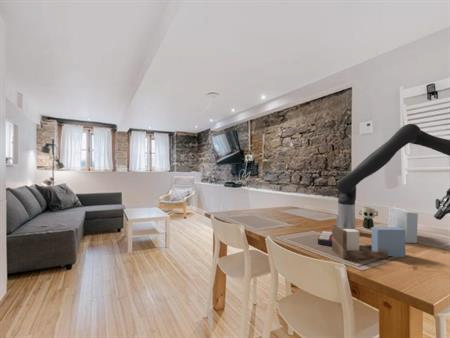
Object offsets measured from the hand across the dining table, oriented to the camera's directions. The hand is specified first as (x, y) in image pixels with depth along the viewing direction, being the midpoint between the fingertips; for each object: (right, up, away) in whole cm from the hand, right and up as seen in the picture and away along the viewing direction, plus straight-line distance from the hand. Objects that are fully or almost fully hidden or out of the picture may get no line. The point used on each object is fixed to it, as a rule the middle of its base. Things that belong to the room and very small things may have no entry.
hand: (436, 218), depth 106 cm
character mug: (0, -17, +50) cm, 53 cm away
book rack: (-34, -17, +1) cm, 38 cm away
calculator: (-38, -17, +20) cm, 47 cm away
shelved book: (-39, -17, +1) cm, 42 cm away
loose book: (-21, -17, +1) cm, 27 cm away
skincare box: (+5, -17, +28) cm, 33 cm away
